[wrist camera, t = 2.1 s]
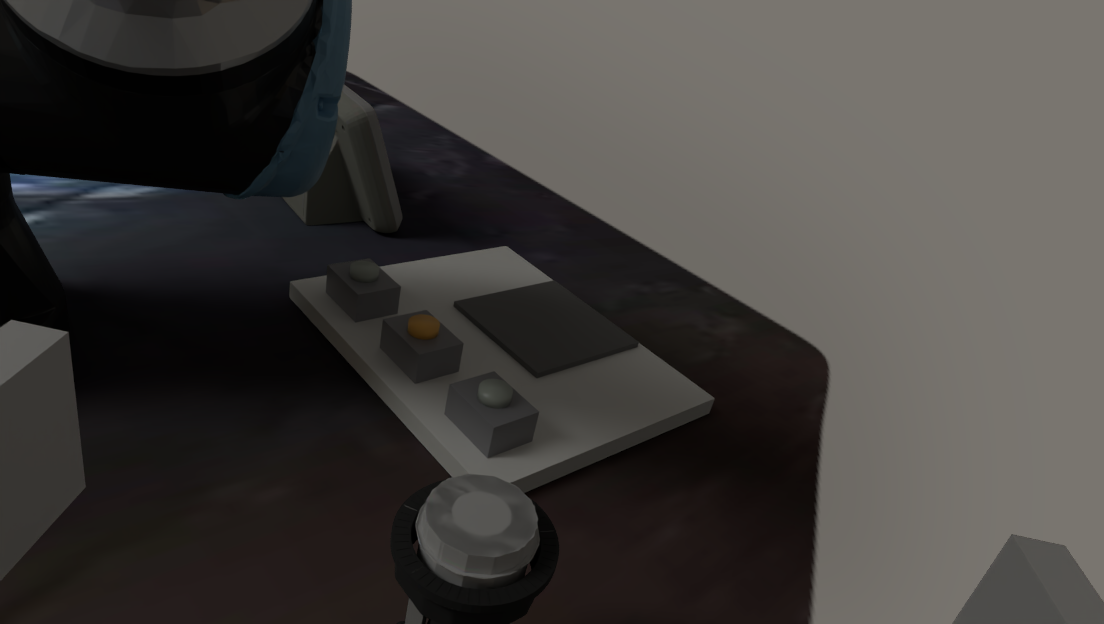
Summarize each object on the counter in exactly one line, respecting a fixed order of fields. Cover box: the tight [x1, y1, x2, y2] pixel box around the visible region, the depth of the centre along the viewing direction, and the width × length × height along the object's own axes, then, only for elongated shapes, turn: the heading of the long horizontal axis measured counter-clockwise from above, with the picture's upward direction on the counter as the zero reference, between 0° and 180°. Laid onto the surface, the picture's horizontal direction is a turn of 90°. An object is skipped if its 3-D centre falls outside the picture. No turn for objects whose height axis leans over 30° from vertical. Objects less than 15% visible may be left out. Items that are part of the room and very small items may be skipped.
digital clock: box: [282, 85, 402, 233], centre depth 64 cm, size 16×9×11 cm, turn 25°
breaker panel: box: [289, 246, 715, 493], centre depth 50 cm, size 22×18×4 cm
